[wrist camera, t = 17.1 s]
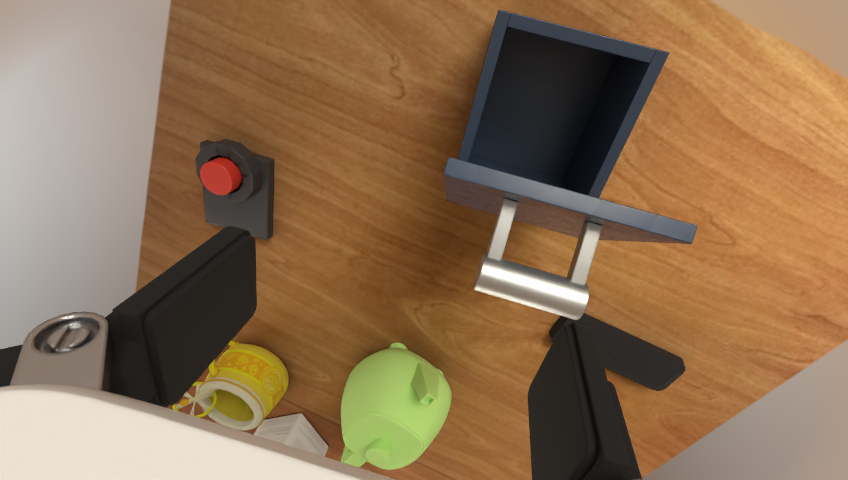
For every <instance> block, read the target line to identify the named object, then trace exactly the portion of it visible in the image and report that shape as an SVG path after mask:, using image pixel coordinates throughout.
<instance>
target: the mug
mask: <svg viewBox="0 0 848 480" xmlns="http://www.w3.org/2000/svg"><path fill="white" fill-rule="evenodd" d="M228 345H230V347H229V349H228V350H226V351H225V352H224V353H223V354H222V355H221V357H220V358H219V359H218V361H217V362H216V364H215V360H214V361H213V362H212V363H211V364H210V365H209V371H210V373H209V374H208V376H207V378H206V380H205V382H195V383H194V384H193V385H192V386H196V395H195V397H194V398H193V397H192V396H190V395H189V394H188V393H185V394H184V395H183V396H185V397H187V398H189V400H188V399H187V400H186V399H184V400H182V401H181V402H180V404H178V405H176V404H174V405H173V410H175V411H178V409H180V408H182V407H184V406H186V405H188V404H190V403H192V402H191V401H193V402H194V404H193V407H192V410H191V413H190V415H192V416H194V407H195V402H196V401H198V400H199V401H198V402H199V403H198V402H197V403H198V404H199V405H201V407H202V408H203V410H204V411H205V413H203V414H201V415H197V416H195V417H198V418H202V417H204V416H206V415H208V416H209V417H210V418H212V419H213V420H214V421H216V422H218V423H219V424H221V425H224V426H227V427H231V428H234V429H237V430H250V429H254V428H257V427H258V426H260V425H261V424H262V422H263V421H264V418H265V417H266V416H267V415H268V414H269V413H270V412H271V411H272V409H273V408H274V407H275V406H276V405H277V403H278V402H279V401H280V399H281V398H282V397H283V395H284V394H285V392H286V390H287V388H288V384H289V375H288V372H287V369H286V367H285V366H284V364H283V363H282V362H281V360H280V359H279V358H278V357H276V356H275V355H274V354H272V353H271V352H270V351H268V350H267V349H264V348H262V347H259V346H256V345H251V344H240V343H239V342H236V343H235V342H234V341H233V340H231V341H230V342H229V344H228ZM197 393H198V396H197ZM196 396H197V397H196ZM190 397H191V398H192V399H191V398H190ZM197 399H198V400H197ZM189 402H190V403H189Z"/></svg>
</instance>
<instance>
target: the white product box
mask: <svg viewBox="0 0 848 480" xmlns="http://www.w3.org/2000/svg"><path fill="white" fill-rule="evenodd" d="M254 435H257V436H260V437H263V438H266V439H269V440H273V441H276V442H279V443H282V444H285V445H289V446H292V447H295V448H298V449H301V450H305V451H308V452H311V453H314V454H317V455H320V456H325V454H326V451H327V449H328V445H327V444H326V443H325V442H324V440H323V439H322V438H321V437H320V435H319V434H318V433H317V432H316V430H315V429H314V428H313V427H312V425H311V424H310V423H309V422H308V420H307V419H306V418H305V417H304V416H303V414H302V413H299V414H294V415H288V416H282V417H277V418H271V419H266V420H264V421H263V422H262V424H261V425H260V426H259V427H258V428H257V430H256V432H255V433H254Z"/></svg>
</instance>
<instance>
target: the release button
mask: <svg viewBox="0 0 848 480" xmlns="http://www.w3.org/2000/svg"><path fill="white" fill-rule="evenodd" d="M200 177H201V180H202V182H203V184H204V185H205V187H206V188H207V189H208V190H209V191H211V192H212V193H214V194H217V195H226V194H228V193H230V192H231V191H233V190H235V189H236V188H238V187H239V186H240V184H241V181H242V176H241V172H240V170H239V168H238V167H237V165H236V164H235V163H234V162H232V161H231V160H229V159H227V158H222V157H219V158H216V159H214V160H211V161H209V162H207V163H205V164H204V165H203V166H202V167H201V170H200Z"/></svg>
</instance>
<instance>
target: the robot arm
mask: <svg viewBox="0 0 848 480" xmlns="http://www.w3.org/2000/svg"><path fill="white" fill-rule="evenodd" d="M256 306H257V294H256V249H255V239H254V237H251V234H250V232H249V231H248V230H244V229H241V228H237V227H234V226H227V227H225V228H224V229H223V230H221V231H220V232H219V233H217V234H216V235H214V236H213V237H212V238H210V239H209V240H208V241H206V242H205V243H203V244H202V245H201V246H199V247H198V248H197V249H195V250H194V251H192V252H191V253H190V254H188V255H187V256H186V257H184V258H183V259H181V260H180V261H179V262H177V263H176V264H175V265H173V266H172V267H170V268H169V269H168V270H166V271H165V272H164V273H162V274H161V275H159V276H158V277H157V278H155V279H154V280H153V281H151V282H150V283H148V284H147V285H146V286H144V287H143V288H142V289H140V290H139V291H137V292H136V293H135V294H133V295H132V296H131V297H129V298H128V299H126V300H125V301H124V302H122V303H121V304H120V305H118V306H117V307H115V308H114V309H113V312H112V313H111V314H109V315H108V316H107V317H105V318H104V317H103V316H102V315H99V314H96V313H92V312H73V313H69V314H64V315H60V316H57V317H54V318H52V319H49V320H47V321H45V322H44V323H42V324H40V325H38V326H37V327H36V328H34V329H33V330H32V331H31V332H30V333H29V334H28V336H27V337H26V339H25V341H24V343H23V345H19V346H14V347H9V348H5V349H0V480H396V479H393V478H390V477H387V476H384V475H381V474H377V473H374V472H371V471H368V470H365V469H362V468H358V467H355V466H352V465H349V464H346V463H343V462H339V461H336V460H333V459H330V458H327V457H324V456H320V455H317V454H314V453H311V452H308V451H305V450H301V449H298V448H295V447H292V446H289V445H285V444H282V443H279V442H276V441H273V440H269V439H266V438H263V437H260V436H257V435H253V434H250V433H247V432H244V431H240V430H237V429H234V428H231V427H227V426H224V425H221V424H218V423H214V422H211V421H208V420H205V419H201V418H198V417H195V416H192V415H189V414H185V413H182V412H179V411H175V410H172V409H168V408H167V406H168V405H174V404H176V403H177V402H178V401H179V400H180V399H181V398H182V396H183V395H184V394H185V393H186V392H187V391H188V390H189V388H190V387H191V386H192V385H193V384H194V383H195V381H196V380H197V379H198V378H199V377H200V376H201V375H202V373H203V372H204V371H205V370H206V369H207V368H208V367H209V365H210V364H211V363H212V362H213V361H214V360H215V358H216V357H217V356H218V355H219V354H220V353H221V352H222V350H223V349H224V348H225V347H226V346H227V345H228V344H229V342H230V341H231V340H232V339H233V338H234V337H235V335H236V334H237V333H238V332H239V331H240V330H241V329H242V327H243V326H244V325H245V324H246V323H247V322H248V320H249V319H250V318H251V317H252V316H253V314H254V312H255V310H256ZM528 409H529V427H530V446H531V464H532V480H642V478H641V474H640V471H639V468H638V464H637V461H636V457H635V454H634V451H633V447H632V444H631V440H630V437H629V434H628V430H627V427H626V423H625V420H624V417H623V413H622V410H621V406H620V403H619V400H618V396H617V393H616V390H615V387H614V385H613V384H612V383H611V382H609V381H607V377H606V373H605V370H604V366H603V363H602V359H601V355H600V352H599V348H598V345H597V341H596V338H595V334H594V331H593V329H592V328H590V327H587V326H583V325H580V324H576V323H570V324H569V325H568V326H564V325H563V326H562V327H561V328H560V330H559V332H558V334H557V336H556V338H555V340H554V341H553V343H552V345H551V347H550V349H549V351H548V353H547V355H546V357H545V359H544V360H543V362H542V364H541V366H540V368H539V370H538V372H537V374H536V376H535V378H534V379H533V381H532V383H531V385H530V388H529V392H528Z"/></svg>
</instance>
